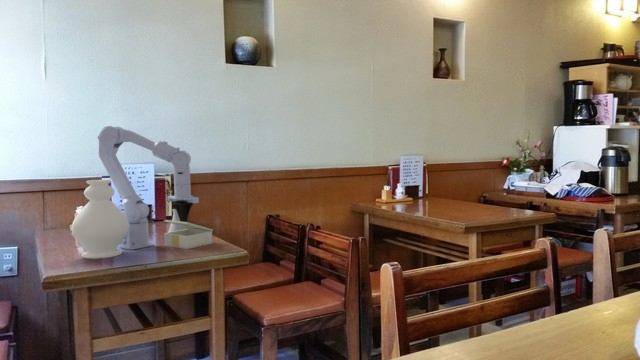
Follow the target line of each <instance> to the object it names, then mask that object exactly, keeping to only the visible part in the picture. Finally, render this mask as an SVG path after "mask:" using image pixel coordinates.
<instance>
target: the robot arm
mask: <svg viewBox="0 0 640 360" xmlns="http://www.w3.org/2000/svg"><path fill="white" fill-rule="evenodd" d="M97 139H98V156H99V158H100V160H101V162H102V164H103V166H104V168H105V170H106V172H107V174H108V176H109V178H110V180H111V182H112V183H113V185H114V187H115V189H116V191H117V192H118V194H119V196H120V198H121V201H122V204H121V205H122V208H123V210H124V212H123V213H124V214H125V216H126V217H127V219H128V222H129V231H128V233H127V235H126V237H125V238H124V239H123V241H122V242H121V243H120V245H119V246H118V248H119V249H120V248H121V249H126V250H137V249H142V248H147V247H148V248H149V247H152V246H155V244H154V243H150V242H149V241H150V240H149V239H150V238H149V235H150V234H149V219H148V216H149V214H150V207H149V206H148V204H147V203H146V202H144V201H143V199H142V197H140V196H139V195H138V194H137V192H136V190H135V189H134V187H133V185H132V183H131V181H130V179H129V177H128V176H127V173H126V171H125V170H124V168H123V166H122V164H121V161H119V158H118V157H117V152H118V150H119V149H120V147H121V146H122V144H124V143H133V144H135V145H137V146H139V147H142V148H145V149H147V150H150V151H151V153H152V155H153V157H156V158H158V159H160V160H162V161H165V162H167V163H171V164H172V165H173V185H174V186H173V190H174V195H167V202H174V203H172V205H173V207H174V209H176V211H177V213H178V216H179V219H180V221H181V222H188V219H189V215H190V211H191V209H192V207H193V205H194V204H199V202H200V200H199V199H200V198H199V197H198V196H193V195H192V193H191V192H192V191H191V190H192V189H191V188H192V187H191V170H190V169H191V168H190V164H191V162H192V161H191V160H192V157H191V154H190V153H189V152H187V151H186V150H180V147H179V146H178V147H174V146H173V145H170V144H168V141H165V140H163V141H161V140H160V141H157V142H155V141H153V140H151V139H149V138H146V137H145V136H142V135H141V134H139V133H136V132H135V131H132V130H130V129H127V128H122V127H121V126H113V125H107V126H104V127H103V128H102V129H101V130H100V132H99V133H98V136H97Z"/></svg>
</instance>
